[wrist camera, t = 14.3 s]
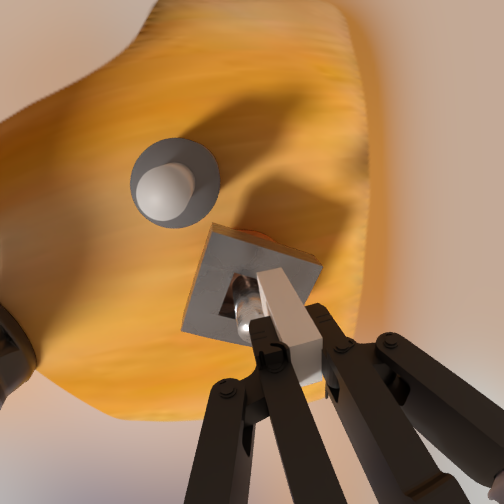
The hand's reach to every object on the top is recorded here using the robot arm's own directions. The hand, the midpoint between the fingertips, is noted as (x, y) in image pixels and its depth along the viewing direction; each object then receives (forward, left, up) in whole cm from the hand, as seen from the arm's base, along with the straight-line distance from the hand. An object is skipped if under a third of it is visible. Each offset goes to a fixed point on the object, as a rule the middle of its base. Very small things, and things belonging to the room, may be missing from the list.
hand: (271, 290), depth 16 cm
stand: (-7, +4, -10) cm, 13 cm away
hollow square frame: (0, -3, -7) cm, 7 cm away
